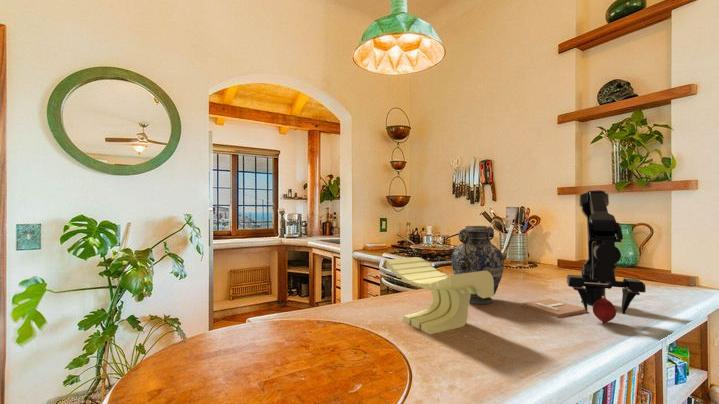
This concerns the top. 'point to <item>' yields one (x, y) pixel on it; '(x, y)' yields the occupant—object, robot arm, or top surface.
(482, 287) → the slatted curved stool
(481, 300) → the decorative vase
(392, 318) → the top surface
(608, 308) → the onion
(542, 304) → the letter tile
